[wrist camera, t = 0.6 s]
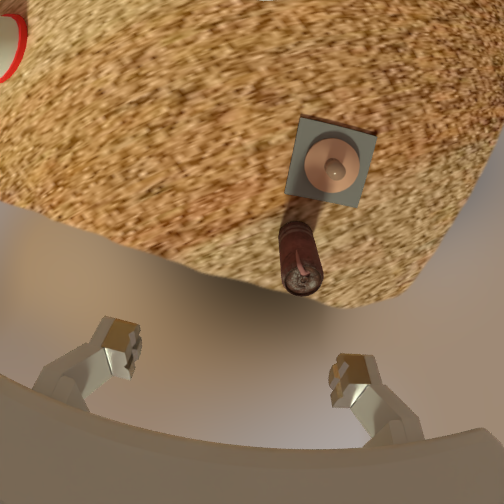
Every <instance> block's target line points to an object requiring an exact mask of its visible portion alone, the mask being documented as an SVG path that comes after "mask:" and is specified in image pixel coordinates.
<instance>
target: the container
mask: <svg viewBox="0 0 504 504" xmlns="http://www.w3.org/2000/svg"><path fill="white" fill-rule="evenodd" d="M27 37H28V36H27V26H26V23H25V21H24V19H23V18H22V17H21V16H20V15H16V14H4V15H2V16H0V83H3V82H4V81H6V80H7V79H8V78H10V77H11V76H12V74H13V73H14V72H15V71H16V69H17V68H18V66H19V64H20V62H21V60H22V58H23V55H24V52H25V49H26V43H27Z"/></svg>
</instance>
